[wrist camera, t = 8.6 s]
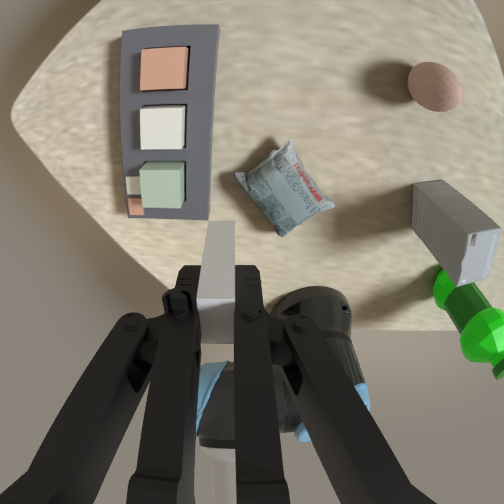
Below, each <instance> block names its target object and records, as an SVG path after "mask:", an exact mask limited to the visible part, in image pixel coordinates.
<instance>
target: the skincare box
mask: <svg viewBox="0 0 504 504" xmlns="http://www.w3.org/2000/svg"><path fill="white" fill-rule="evenodd" d="M411 228H412V229H413V231H414V232H415V233H416V234H417V235H418V237H419V238H420V239H421V240H422V242H423V243H424V244H425V245H426V247H427V248H428V249H429V250H430V252H431V253H432V254H433V256H434V257H435V258H436V260H437V261H438V262H439V264H440V265H441V266H442V268H443V269H444V270H445V272H446V273H447V275H448V276H449V277H450V279H451V280H452V282H453V283H454V285H455V286H456V287H459V286H462V285H465V284H469V283H472V282H476V281H479V280H483V279H485V278H488V276H489V273H490V269H491V266H492V263H493V259H494V256H495V252H496V248H497V245H498V241H499V237H500V233H501V227H499V226H498V225H497V224H496V223H495V222H494V221H493V220H492V219H491V218H490V217H488V216H487V215H486V214H485V213H484V212H483V211H481V210H480V209H479V208H478V207H477V206H476V205H474V204H473V203H472V202H471V201H469V200H468V199H467V198H466V197H464V196H463V195H462V194H461V193H459V192H458V191H457V190H455V189H454V188H453V187H451V186H450V185H449V184H447V183H446V182H445V181H443V180H440V181H433V182H424V183H417V184H413V205H412V224H411Z"/></svg>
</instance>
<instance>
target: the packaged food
mask: <svg viewBox="0 0 504 504" xmlns="http://www.w3.org/2000/svg"><path fill="white" fill-rule="evenodd" d="M234 176H235V178H236V179H237V181H238V182H239V184H240V185H241V186H242V188H243V189H244V190H245V191H246V192H247V194H248V195H249V196H250V198H251V199H252V200H253V201H254V202H255V203H256V205H257V206H258V207H259V208H260V209H261V210H262V212H263V213H264V215H265V216H266V217H267V219H268V220H269V221H270V222H271V223H272V224H273V226H274V229H275V231H276V233H277V234H278V235H279V236H281V237H283V236H284V235H285V236H286V235H287V234H288V233H289V232H290V231H291V230H292V229H293V228H294V227H296V226H297V225H299V224H300V223H302V222H303V221H305V220H307V219H308V218H310V217H311V216H313V215H314V214H316V213H319V212H322V211H324V210H329V209H331V208H334V207H335V203H334V201H332V200H330V199H329V198H328V197H326V196H325V195H323V194H322V193H321V192H320V190H319V189H318V187H317V185H316V184H315V182H314V181H313V179H312V178H311V177H310V176H309V175H308V174H307V173H306V171H305V170H304V168H303V164H302V162H301V160H300V159H299V157H298V156H297V154H296V152H295V149H294V146H293V142H292V138H291V137H290V138H289V139H288V141H287V142H286V143H285V144H284V145H283V146H282V147H281V148H280V149H279V150H277V151H276V150H272V151H271V152H270V154H269V156H268V157H267V158H266V159H264V160H263V161H262V162H261V163H260V164H259V165H258V166H257V167H255V168H254V169H251V170H250V171H249V173H245V172H239V173H238V172H236V173H235V174H234Z"/></svg>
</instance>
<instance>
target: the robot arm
mask: <svg viewBox="0 0 504 504" xmlns="http://www.w3.org/2000/svg"><path fill="white" fill-rule="evenodd" d="M162 301H163V306H164V311H165V313H164V314H163V315H161V316H158V317H155V318H149V319H146V318H145V317H144V315H142V314H140V313H133V312H132V313H128V314H126V315H124V316H122V317H121V318H120V319H119V320H118V322H117V323H116V324H115V326H114V327H113V329H112V330H111V331H110V333H109V334H108V336H107V337H106V339H105V340H104V342H103V343H102V345H101V346H100V348H99V350H98V351H97V352H96V354H95V355H94V357H93V359H92V360H91V362H90V363H89V365H88V366H87V368H86V369H85V371H84V373H83V374H82V376H81V378H80V379H79V381H78V382H77V384H76V385H75V387H74V389H73V390H72V392H71V394H70V396H69V397H68V398H67V400H66V402H65V404H64V405H63V407H62V409H61V410H60V412H59V414H58V415H57V417H56V419H55V421H54V422H53V424H52V426H51V428H50V429H49V432H48V433H47V435H46V437H45V438H44V440H43V442H42V444H41V446H40V448H39V450H38V451H37V453H36V456H35V457H34V459H33V461H32V463H31V465H30V467H29V469H28V471H27V472H26V473H25V474H24V475H22V476H21V477H20V478H19V479H18V480H17V481H15V482H14V483H13V484H12V485H11V486H10V487H8V488H7V489H6V490H5V491H4V492H3V493H2V494H0V504H93V503H94V501H95V499H96V497H97V494H98V492H99V489H100V487H101V485H102V483H103V481H104V478H105V476H106V474H107V471H108V469H109V467H110V465H111V463H112V460H113V458H114V456H115V454H116V452H117V449H118V447H119V445H120V443H121V441H122V439H123V436H124V434H125V432H126V430H127V428H128V426H129V424H130V421H131V419H132V417H133V415H134V413H135V411H136V409H137V407H138V405H139V403H140V400H141V398H142V396H143V394H144V392H145V390H146V388H147V386H148V384H149V382H150V386H149V391H148V396H147V402H146V408H145V414H144V420H143V426H142V433H141V440H140V447H139V454H138V461H137V468H136V471H135V473H134V474H133V475H132V476H131V478H130V480H129V484H128V491H127V500H126V504H195V497H194V466H195V442H196V441H195V440H196V436H199V443H200V448H201V449H202V450H203V451H204V452H206V453H207V454H208V455H209V457H210V458H211V473H212V474H211V475H212V491H213V504H290V497H289V490H288V485H287V482H286V480H285V478H284V471H283V462H282V453H281V443H280V433H286V432H294V435H295V437H296V438H297V439H298V440H299V441H301V442H312V443H313V445H314V448H315V450H316V452H317V454H318V456H319V458H320V461H321V463H322V465H323V467H324V469H325V471H326V473H327V475H328V477H329V480H330V482H331V484H332V486H333V488H334V490H335V492H336V495H337V496H338V499H339V501H340V503H341V504H437V503H435V502H434V501H432V500H431V499H430V498H429V497H427V496H426V495H425V494H423V493H422V492H421V491H419V490H418V489H417V488H416V487H414V486H413V485H412V484H411V483H410V481H409V480H408V478H407V476H406V474H405V473H404V471H403V469H402V467H401V466H400V464H399V462H398V460H397V459H396V457H395V455H394V453H393V452H392V450H391V448H390V446H389V445H388V443H387V441H386V440H385V438H384V436H383V435H382V433H381V431H380V429H379V428H378V426H377V424H376V423H375V421H374V419H373V417H372V416H371V414H370V412H369V411H370V400H369V395H368V391H367V389H368V387H367V384H366V383H365V380H364V377H363V374H362V371H361V368H360V365H359V362H358V359H357V356H356V353H355V350H354V347H353V344H352V341H351V318H352V315H351V309H350V307H349V304H348V301H347V299H346V298H345V296H344V295H343V294H342V293H340V292H339V291H337V290H335V289H332V288H328V287H308V288H304V289H300V290H297V291H295V292H293V293H291V294H289V295H287V296H286V297H284V298H283V299H282V300H280V301H279V302H278V303H277V305H276V306H275V307H274V309H273V310H272V313H271V315H270V314H268V313H267V312H266V310H265V309H264V306H263V297H262V288H261V280H260V271H259V270H258V269H257V267H256V266H255V265H235V221H209V223H208V229H207V235H206V241H205V247H204V253H203V259H202V265H201V266H200V265H184V266H183V267H182V269H181V270H180V271H179V273H178V277H177V281H176V285H175V288H173V289H171V290H168V291H167V292H166V293H164V295H163V297H162ZM201 342H202V343H216V344H234V362H230V361H225V362H218V363H205V364H203V365H201V366H200V362H201V347H200V343H201Z"/></svg>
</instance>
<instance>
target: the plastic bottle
mask: <svg viewBox="0 0 504 504" xmlns="http://www.w3.org/2000/svg"><path fill="white" fill-rule="evenodd" d="M433 295H434V298H435V302H436V304H437V306H438V307H440V308H441V309H443V310H445V311H447V313H448V315H449V316H450V318H451V319H452V321H453V323H454V324H455V326H456V328H457V329H458V331H459V333H460V334H461V337H460V343H461V349H462V352H463V354H464V356H465V358H467V359H468V360H469V361H471V362H491V364H492V366H493V370H492V372H493V374H494V376H495V378H496V379H500V378H502V377H503V376H504V312H503V311H502V310H501V309H497V308H492V306H491V305H490V303H489V302H488V301H487V299H486V298H485V296H484V295H483V294H482V292H481V291H480V290H479V288H478V287H477V286H476V284H475V282H472V283H469V284H465V285H462V286H459V287H456V286H455V285H454V283H453V282H452V280H451V279H450V277H449V276H448V275H447V273H446V272H445V270H444V269H442V270H441V271H440V272H439V273H438V275H437V278H436V280H435V284H434V286H433Z"/></svg>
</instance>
